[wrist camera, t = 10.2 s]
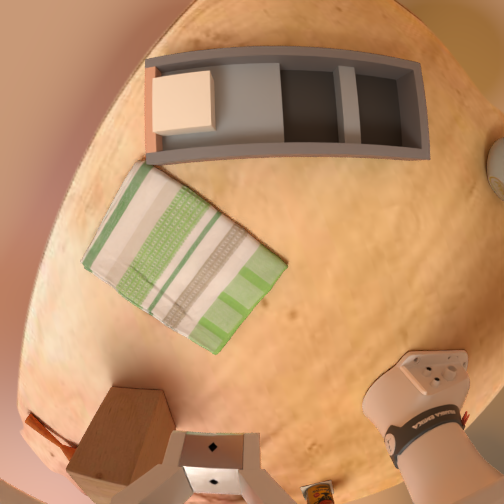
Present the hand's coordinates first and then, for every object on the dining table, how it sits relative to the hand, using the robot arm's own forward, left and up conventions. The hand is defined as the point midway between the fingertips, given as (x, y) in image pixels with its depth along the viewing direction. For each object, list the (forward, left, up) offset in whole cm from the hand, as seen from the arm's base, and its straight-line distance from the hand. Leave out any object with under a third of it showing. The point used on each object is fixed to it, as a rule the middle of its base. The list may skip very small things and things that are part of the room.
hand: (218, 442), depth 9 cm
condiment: (-14, +60, -30) cm, 69 cm away
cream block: (+5, -17, -27) cm, 32 cm away
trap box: (-7, -17, -30) cm, 35 cm away
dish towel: (+8, +2, -30) cm, 31 cm away
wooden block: (+19, +28, -30) cm, 45 cm away
